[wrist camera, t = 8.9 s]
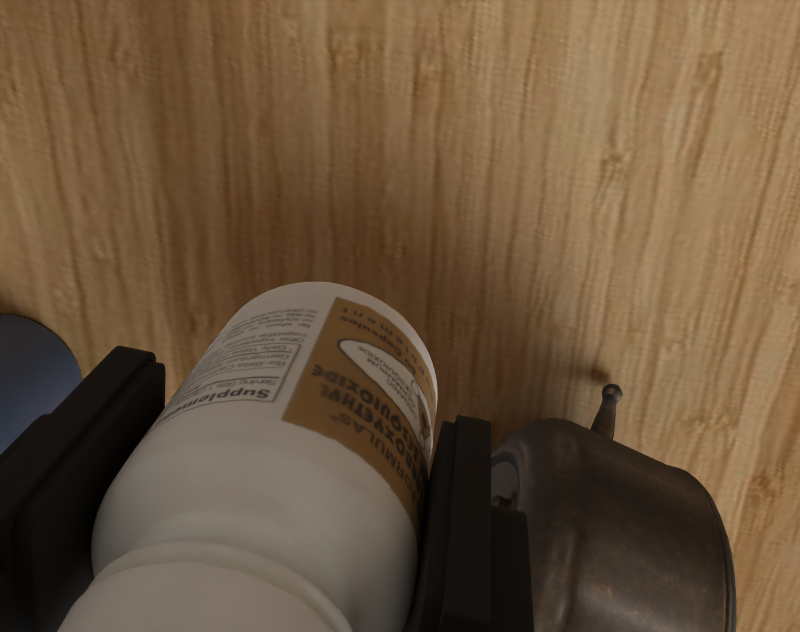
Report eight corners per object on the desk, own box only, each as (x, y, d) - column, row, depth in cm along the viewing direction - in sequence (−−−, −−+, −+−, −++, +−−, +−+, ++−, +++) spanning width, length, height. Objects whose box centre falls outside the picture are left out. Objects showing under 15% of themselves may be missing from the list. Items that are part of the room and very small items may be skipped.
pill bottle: (471, 438, 14) (454, 874, 8) (277, 489, 16) (109, 908, 9) (388, 242, 13) (269, 569, 6) (179, 315, 14) (-126, 660, 7)
